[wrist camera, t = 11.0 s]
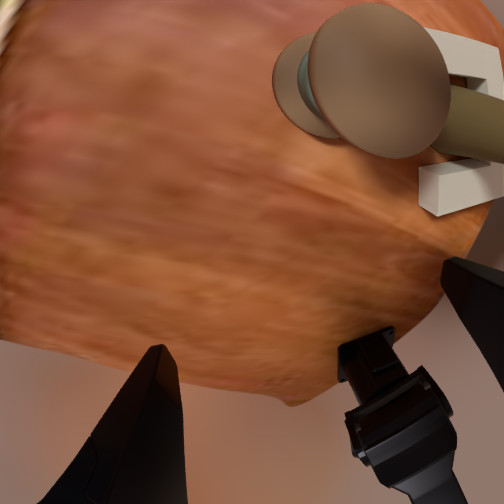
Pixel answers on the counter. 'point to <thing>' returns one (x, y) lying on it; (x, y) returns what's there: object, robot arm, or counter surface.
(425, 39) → the brown spool-shaped piece
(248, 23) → the counter surface
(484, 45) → the notched board
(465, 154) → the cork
